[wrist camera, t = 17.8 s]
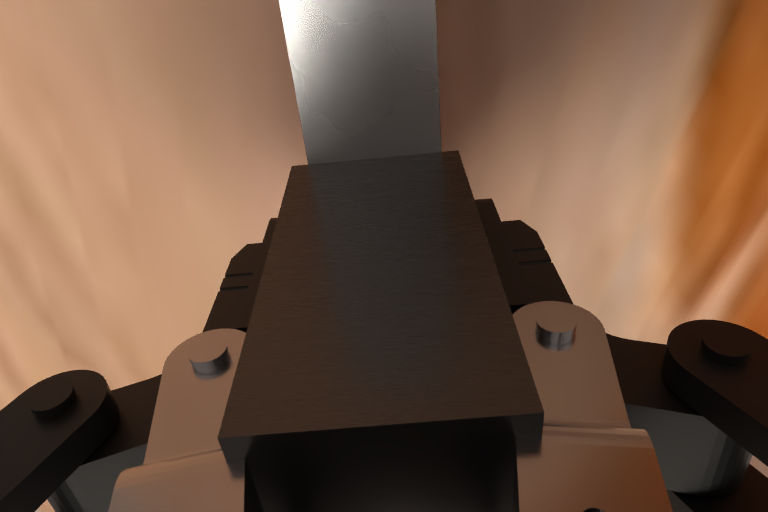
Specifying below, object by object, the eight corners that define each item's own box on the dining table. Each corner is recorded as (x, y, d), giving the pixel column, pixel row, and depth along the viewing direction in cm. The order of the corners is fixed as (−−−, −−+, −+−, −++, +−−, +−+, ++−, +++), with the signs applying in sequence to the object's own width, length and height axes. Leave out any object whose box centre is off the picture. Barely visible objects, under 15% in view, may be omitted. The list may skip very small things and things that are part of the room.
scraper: (247, -241, 9) (-226, -711, 2) (427, -262, 9) (664, -847, 2) (358, 412, 18) (351, 784, 11) (451, 405, 18) (510, 775, 11)
